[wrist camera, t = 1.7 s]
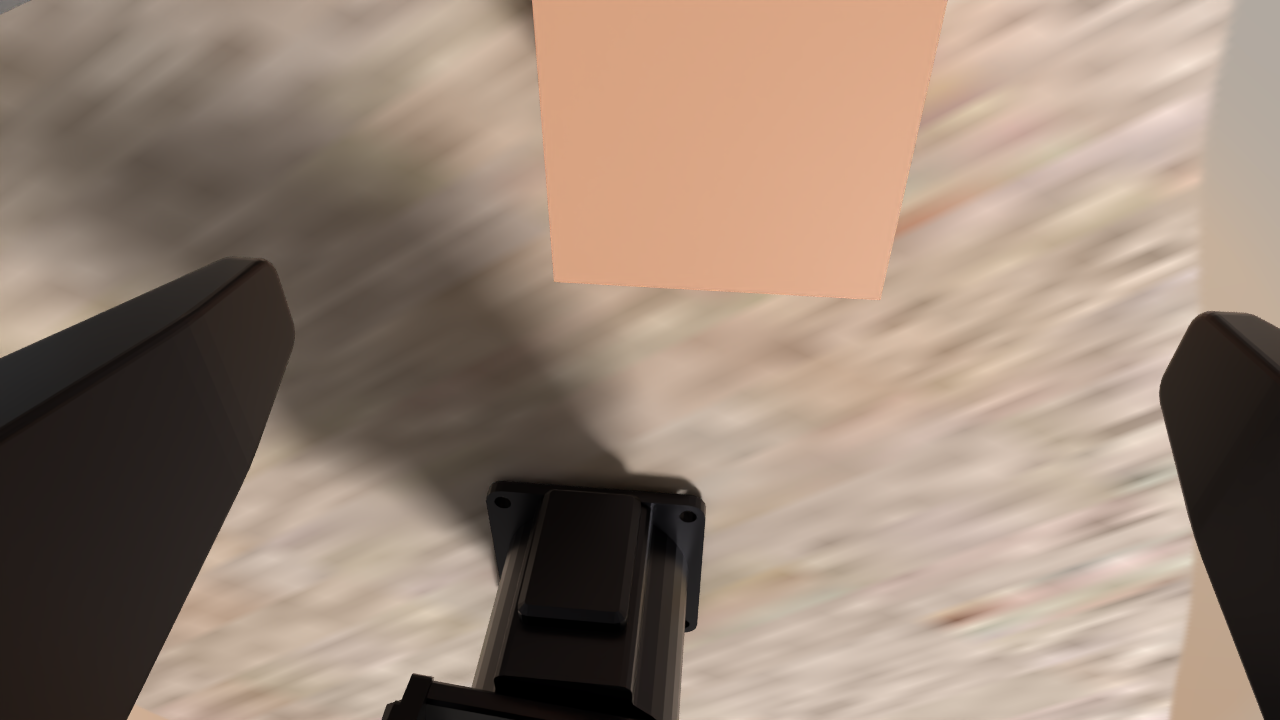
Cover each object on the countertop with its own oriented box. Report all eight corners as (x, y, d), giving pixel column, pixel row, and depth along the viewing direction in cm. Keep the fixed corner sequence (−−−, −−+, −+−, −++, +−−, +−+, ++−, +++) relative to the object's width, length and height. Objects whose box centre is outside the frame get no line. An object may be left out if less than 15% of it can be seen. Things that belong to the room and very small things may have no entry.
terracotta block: (844, 130, 17) (880, 299, 13) (603, 120, 18) (554, 281, 13) (891, -150, 14) (960, -59, 10) (595, -156, 14) (527, -71, 10)
